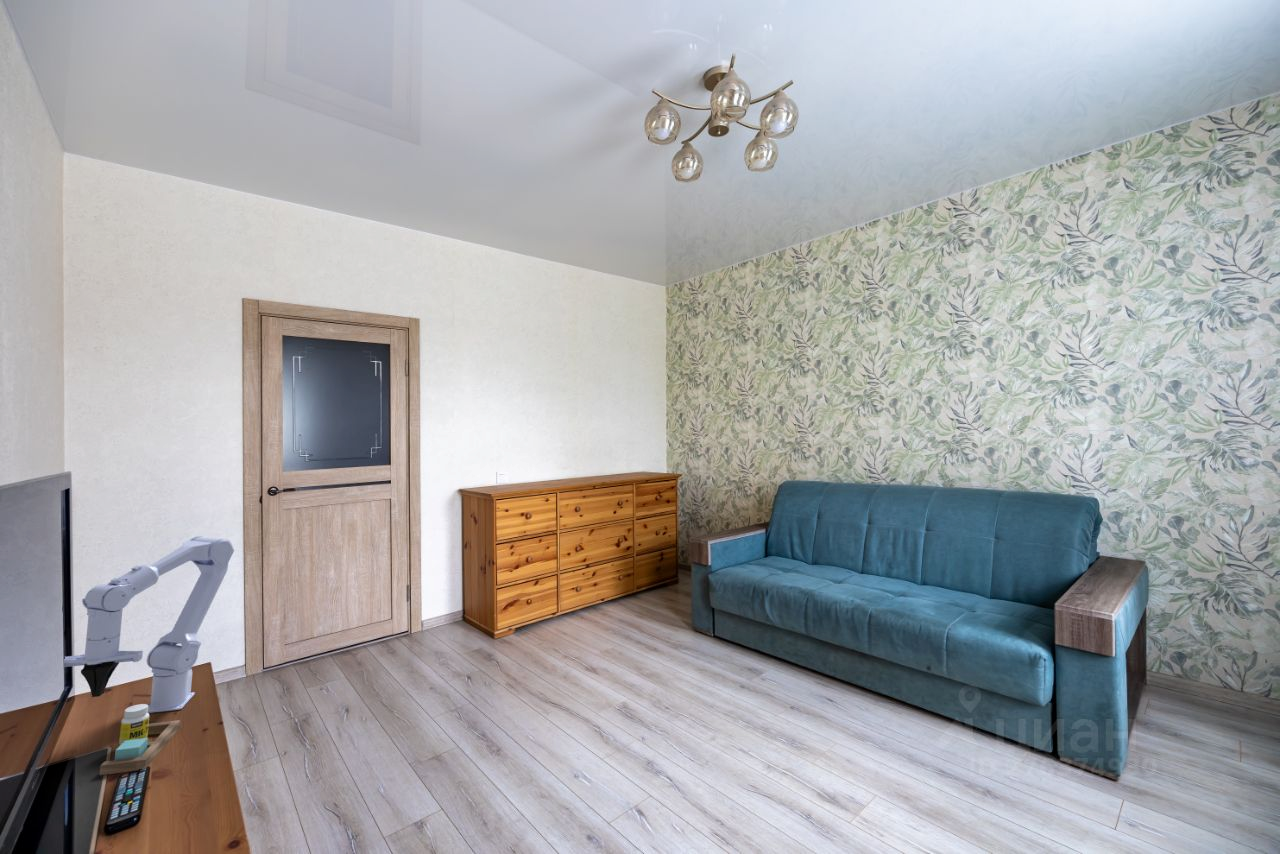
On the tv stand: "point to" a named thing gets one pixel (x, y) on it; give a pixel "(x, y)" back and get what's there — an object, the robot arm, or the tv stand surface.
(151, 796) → the tv stand surface
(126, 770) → the frame
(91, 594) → the robot arm
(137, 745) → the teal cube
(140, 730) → the supplement bottle
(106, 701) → the tv stand surface
